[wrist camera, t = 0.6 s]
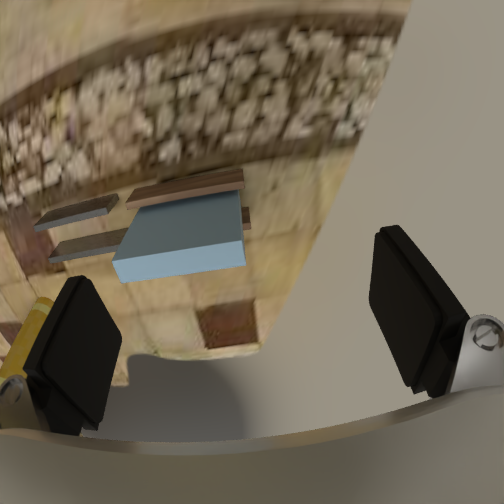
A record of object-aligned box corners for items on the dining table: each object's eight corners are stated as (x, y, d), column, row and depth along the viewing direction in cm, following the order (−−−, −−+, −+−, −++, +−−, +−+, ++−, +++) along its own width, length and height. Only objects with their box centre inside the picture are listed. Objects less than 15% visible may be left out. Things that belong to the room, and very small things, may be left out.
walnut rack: (134, 189, 43) (125, 203, 39) (242, 168, 43) (243, 180, 39) (147, 230, 47) (140, 247, 43) (249, 212, 47) (251, 229, 42)
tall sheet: (144, 199, 44) (111, 261, 31) (237, 182, 44) (241, 240, 31) (149, 217, 46) (121, 283, 32) (240, 201, 46) (246, 265, 32)
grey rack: (47, 211, 43) (33, 226, 39) (116, 193, 43) (105, 207, 39) (62, 247, 47) (50, 263, 43) (130, 233, 47) (121, 250, 43)
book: (78, 352, 62) (50, 443, 42) (56, 348, 62) (24, 435, 41) (56, 298, 53) (8, 399, 32) (31, 295, 53) (-19, 390, 32)
